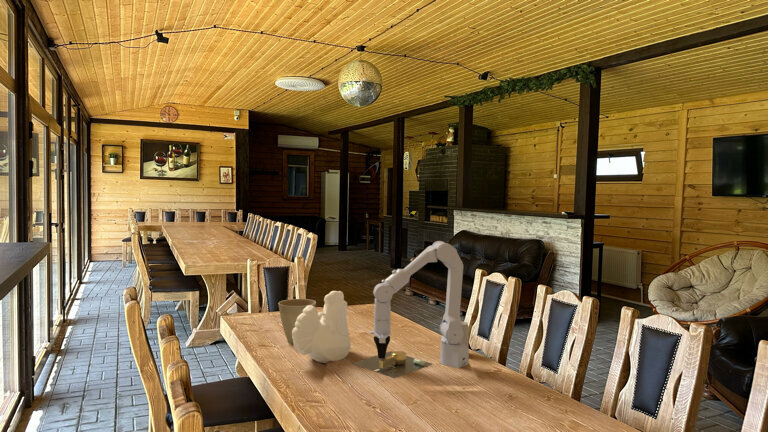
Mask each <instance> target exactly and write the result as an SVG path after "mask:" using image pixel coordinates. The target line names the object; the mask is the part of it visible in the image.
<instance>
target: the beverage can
mask: <svg viewBox="0 0 768 432" xmlns="http://www.w3.org/2000/svg"><path fill="white" fill-rule="evenodd" d="M461 322H462V325H461V326H462V330H463V334H464V335H463V339H462V340H461V342H462V343H463V344H464V345H466V346H467V347H468V348H469V341H470V340H469V335H470V327H469V323H468V322H467V321H463V320H461Z"/></svg>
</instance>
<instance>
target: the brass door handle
mask: <svg viewBox="0 0 768 432" xmlns="http://www.w3.org/2000/svg"><path fill="white" fill-rule="evenodd" d="M406 356H407V353H406V352H405V351H402V350H396V351H395V350H394V351H393V352H392V356H389V357H386V358H384V359H381V360H379V367H380V368H385V367H387V366H390V365H392V364H395V365H403V364H405V363H406Z"/></svg>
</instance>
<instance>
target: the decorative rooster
mask: <svg viewBox="0 0 768 432" xmlns="http://www.w3.org/2000/svg"><path fill="white" fill-rule="evenodd" d="M344 298H345V296H344V292H343V291H341V290H338V291H337V290H332V291H330V292H329V293H328V294H326V295H325V296H324V298H323V302H324V305H323V308H322V311H319V312H318V310H317V308H316V306H315V307H314V306H312V305H308V306H306V307H305V308H304V309H303V311H302V312H303V313H301V314H300V315H299V316H298V317H297V319H296V322H295V328H294V329H293V330H292V339H293V343H294V344H293V347H294V349H296V350H297V351H299V353H301V354H302V355H308V356H309V358H311V359H313V360H314V361H316V362H317V363H323V364H328V363H329V362H336V361H340V360H343V359H345V358H346V357H347V356H348V355H349V354H350V350H351V346H352V344H351V343H352V342H351V338H350V330H349V327H348V319H347V316H348V315H347V314H348V302H347V301H346V300H345V299H344Z"/></svg>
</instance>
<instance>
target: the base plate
mask: <svg viewBox="0 0 768 432" xmlns="http://www.w3.org/2000/svg"><path fill="white" fill-rule="evenodd" d="M392 352H394V351H392V350H390V351H386V355H385V358H386V357H389V356H392ZM379 360H381V358H378V354H377V355H374V356H371V357H370V356H369V357H368V358H364V359H361V360H358V361H355V362H352V363H351V364H353V365H355V366H358V367H361V368H364V369H367V370H369V371H371V372H375V373H378V374H381V375H384V376H386V377H389V378H392V379H397V378H399V377H403V376H405V375H407V374H410V373H413V372H416V371H418V370H421V369H424V368H426V367H429V366H432V365H433V363H431V362H427V361H425V360H422V359H418V358H415V357H412V356H408V355H406V363H405V364H403V365H395V364H392V365H390V366H387V367H385V368H380V367H379Z"/></svg>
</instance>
